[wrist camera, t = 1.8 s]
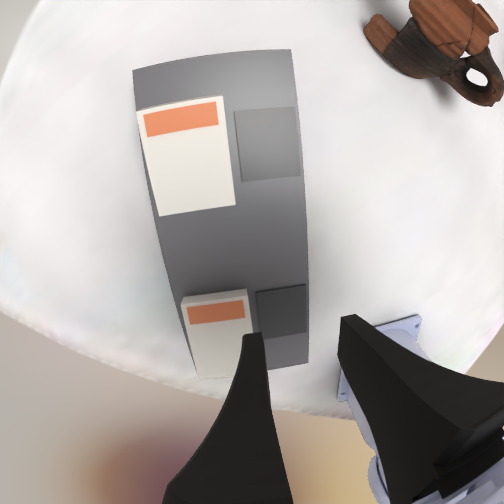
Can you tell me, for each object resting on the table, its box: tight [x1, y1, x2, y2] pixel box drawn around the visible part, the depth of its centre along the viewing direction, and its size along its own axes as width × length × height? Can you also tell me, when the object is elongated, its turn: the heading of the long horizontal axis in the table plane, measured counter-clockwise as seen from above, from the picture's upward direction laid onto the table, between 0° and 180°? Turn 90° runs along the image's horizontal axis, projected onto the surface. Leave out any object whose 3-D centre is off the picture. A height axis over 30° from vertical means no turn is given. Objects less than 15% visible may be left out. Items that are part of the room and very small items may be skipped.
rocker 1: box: [136, 94, 236, 217], centre depth 12 cm, size 5×4×2 cm
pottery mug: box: [363, 0, 504, 107], centre depth 12 cm, size 12×10×8 cm
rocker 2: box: [181, 289, 253, 380], centre depth 16 cm, size 5×4×2 cm
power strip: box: [132, 49, 309, 371], centre depth 17 cm, size 20×8×3 cm, turn 6°
